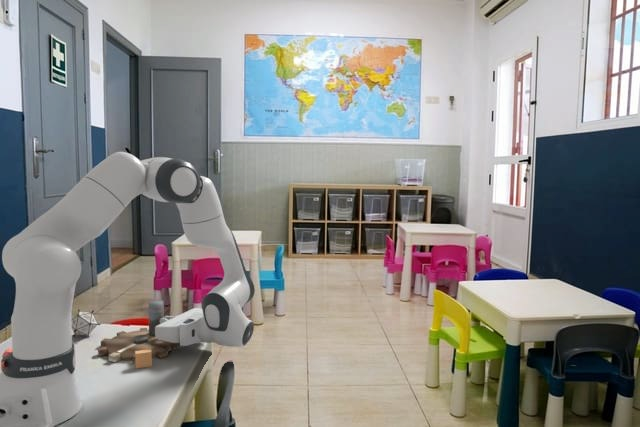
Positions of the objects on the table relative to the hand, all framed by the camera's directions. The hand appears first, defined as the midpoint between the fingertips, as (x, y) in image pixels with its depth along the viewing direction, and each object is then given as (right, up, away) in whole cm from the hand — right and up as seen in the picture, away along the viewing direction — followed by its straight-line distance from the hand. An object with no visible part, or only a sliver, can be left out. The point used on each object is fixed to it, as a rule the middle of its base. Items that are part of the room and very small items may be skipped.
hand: (162, 319), depth 142 cm
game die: (-26, -6, +4) cm, 27 cm away
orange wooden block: (0, -9, -16) cm, 19 cm away
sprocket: (-5, -7, -4) cm, 10 cm away
